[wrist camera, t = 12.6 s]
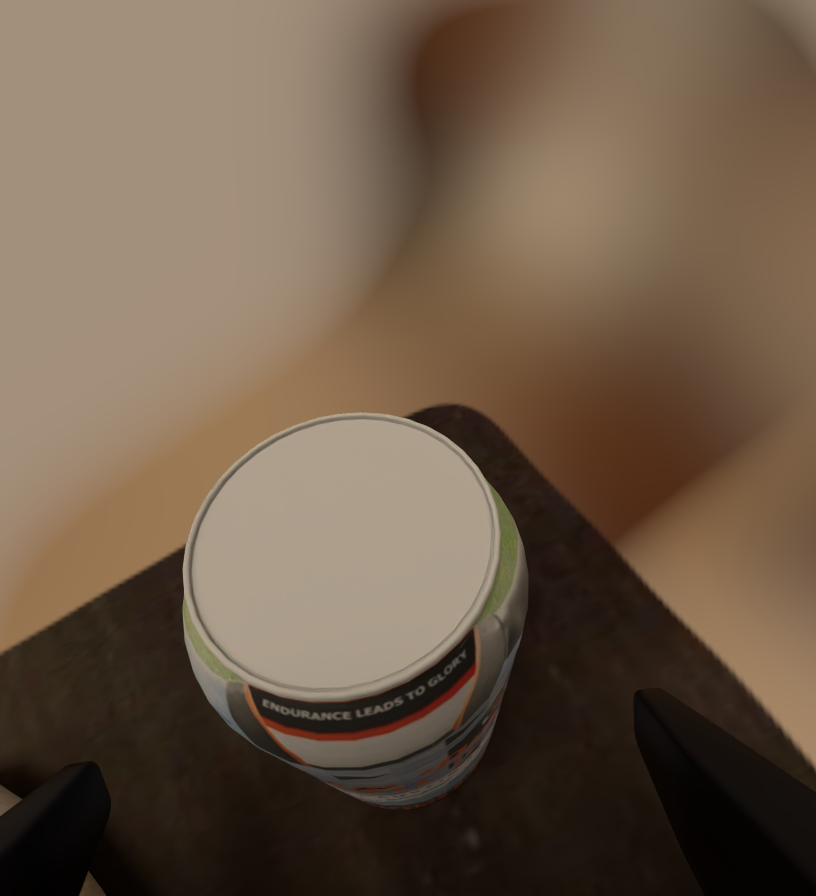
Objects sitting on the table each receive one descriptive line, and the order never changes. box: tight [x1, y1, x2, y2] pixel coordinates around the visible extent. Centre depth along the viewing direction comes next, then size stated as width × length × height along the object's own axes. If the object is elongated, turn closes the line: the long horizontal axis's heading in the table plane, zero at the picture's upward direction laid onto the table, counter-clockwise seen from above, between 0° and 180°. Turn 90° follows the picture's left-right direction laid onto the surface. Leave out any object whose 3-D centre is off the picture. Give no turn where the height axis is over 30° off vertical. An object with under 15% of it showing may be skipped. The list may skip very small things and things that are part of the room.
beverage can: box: [183, 412, 528, 810], centre depth 12 cm, size 6×7×12 cm
